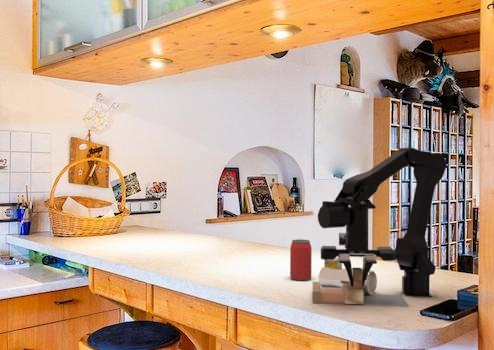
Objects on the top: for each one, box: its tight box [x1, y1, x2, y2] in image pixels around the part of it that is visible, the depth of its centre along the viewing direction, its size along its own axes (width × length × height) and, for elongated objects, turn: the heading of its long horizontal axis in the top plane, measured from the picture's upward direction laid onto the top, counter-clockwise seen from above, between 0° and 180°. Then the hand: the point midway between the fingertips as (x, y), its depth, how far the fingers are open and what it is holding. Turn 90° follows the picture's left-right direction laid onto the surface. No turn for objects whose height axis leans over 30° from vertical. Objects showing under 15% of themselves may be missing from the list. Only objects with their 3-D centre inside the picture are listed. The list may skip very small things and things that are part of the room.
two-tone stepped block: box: [343, 267, 363, 304], centre depth 138 cm, size 5×9×8 cm, turn 174°
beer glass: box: [318, 266, 378, 295], centre depth 149 cm, size 7×7×15 cm
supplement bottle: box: [323, 247, 343, 269], centre depth 164 cm, size 5×5×10 cm
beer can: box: [289, 238, 312, 282], centre depth 165 cm, size 7×7×12 cm
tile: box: [320, 286, 344, 303], centre depth 139 cm, size 6×6×2 cm
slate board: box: [312, 281, 410, 308], centre depth 139 cm, size 24×12×3 cm, turn 83°
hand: (357, 286), depth 138 cm, fingers open, 2 cm apart
